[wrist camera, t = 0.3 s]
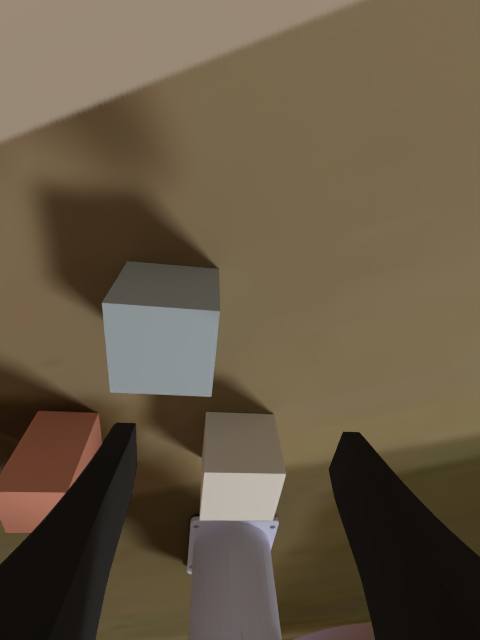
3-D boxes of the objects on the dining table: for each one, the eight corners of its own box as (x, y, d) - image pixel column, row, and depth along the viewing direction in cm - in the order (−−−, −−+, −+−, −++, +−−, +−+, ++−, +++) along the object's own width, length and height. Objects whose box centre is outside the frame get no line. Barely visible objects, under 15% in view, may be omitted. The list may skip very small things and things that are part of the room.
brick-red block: (103, 451, 26) (75, 532, 21) (47, 449, 26) (5, 532, 21) (98, 412, 24) (67, 492, 19) (38, 410, 24) (-11, 491, 19)
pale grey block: (263, 458, 28) (273, 520, 24) (201, 457, 27) (199, 520, 23) (274, 413, 25) (286, 473, 21) (206, 411, 25) (204, 472, 21)
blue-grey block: (212, 342, 22) (211, 396, 18) (131, 337, 21) (110, 392, 17) (218, 268, 19) (219, 311, 15) (127, 260, 19) (101, 302, 15)
